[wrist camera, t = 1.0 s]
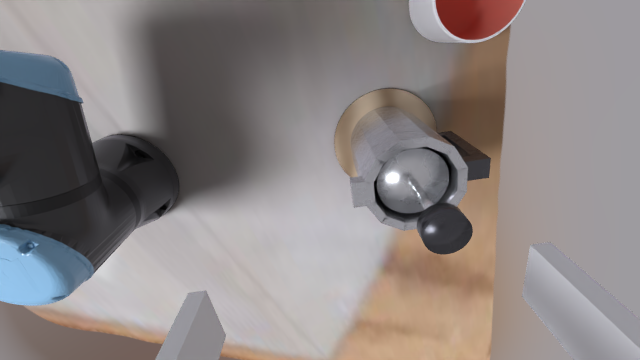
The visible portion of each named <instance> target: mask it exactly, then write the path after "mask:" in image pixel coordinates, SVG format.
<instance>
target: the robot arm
mask: <svg viewBox="0 0 640 360" xmlns="http://www.w3.org/2000/svg"><path fill="white" fill-rule="evenodd" d="M81 103H83V100H82V98H80V97H79V95H78V92H77V89H76V86H75V83H74V80H73V77H72V74H71V71H70V70H69V68H68V67H67V66H66V65H65V64H64V63H63V62H62V61H60V60H59V59H57V58H55V57H52V56H48V55H41V54H32V53H23V52H14V51H5V50H0V301H3V302H7V303H12V304H18V305H45V304H50V303H54V302H57V301H59V300H62V299H64V298H65V297H67V296H69V295H70V294H71V293H72V292H73V291H74V290H76V289H77V288H78V287H79V286H80V285H81V284H82V283H83V282H85V281H87V280H88V279H89V278H91V277H92V275H93V274H94V273H95V272H96V270H97V269H98V268H99V267H100V266H101V265H102V264H103V263H104V262H105V261H106V260H107V259H108V257H109V256H110V255H111V254H112V253H113V252H114V251H115V250H116V249H117V248H118V247H119V246H120V244H121V243H122V242H123V241H124V240H125V239H126V238H127V237H128V236H129V235H130V234H131V232H132V231H133V230H134V229H136V228H139V227H141V226H143V225H145V224H148V223H150V222H152V221H155V220H157V219H158V218H160V217H161V216H163V215H164V214H165V213H166V212H167V211H168V210H169V209H170V208H171V206H172V205H173V204H174V202H175V201H176V199H177V196H178V191H179V182H178V177H177V174H176V171H175V169H174V167H173V165H172V164H171V162H170V161H169V159H168V158H167V157H166V156H165V155H164V154H163V153H162V152H161V151H160V150H159V149H157V148H156V147H155V146H153V145H152V144H150V143H148V142H146V141H144V140H142V139H139V138H136V137H133V136H128V135H112V136H108V137H104V138H102V139H100V140H98V141H95V142H93V143H92V141H91V138H90V134H89V130H88V127H87V123H86V120H85V116H84V112H83V109H82V105H81ZM522 297H523V298H524V299H525V301H526V302H527V303H528V304H529V305H530V307H531V308H532V309H533V310H534V312H535V313H536V314H537V315H538V317H539V318H540V319H541V320H542V322H543V323H544V324H545V325H546V326H547V328H548V329H549V330H550V332H551V333H552V334H553V335H554V336H555V338H556V339H557V340H558V341H559V343H560V344H561V345H562V346H563V348H564V349H565V350H566V351H567V353H568V354H569V355H570V356H571V357H572V359H573V360H640V318H639V317H637V316H636V315H635V314H634V313H633V312H632V311H630V310H629V309H628V308H627V307H626V306H625V305H623V304H622V303H621V302H620V301H619V300H618V299H616V298H615V297H614V296H613V295H612V294H611V293H609V292H608V291H607V290H606V289H605V288H604V287H602V286H601V285H600V284H599V283H598V282H597V281H595V280H594V279H593V278H592V277H591V276H590V275H588V274H587V273H586V272H585V271H584V270H582V269H581V268H580V267H579V266H578V265H577V264H576V263H574V262H573V261H572V260H571V259H570V258H568V257H567V256H566V255H565V254H564V253H563V252H562V251H560V250H559V249H558V248H557V247H556V246H555V245H553V244H552V243H551V242H547V243H540V244H533V245H530V251H529V257H528V263H527V270H526V275H525V281H524V288H523V294H522ZM225 337H226V334H225V332H224V330H223V328H222V325H221V323H220V321H219V319H218V316H217V314H216V312H215V310H214V307H213V305H212V303H211V300H210V298H209V296H208V294H207V291H200V292H193V293H188V295H187V297H186V299H185V301H184V303H183V305H182V307H181V309H180V311H179V313H178V315H177V317H176V319H175V321H174V323H173V325H172V327H171V329H170V331H169V333H168V335H167V337H166V339H165V341H164V343H163V345H162V347H161V349H160V351H159V353H158V355H157V357H156V359H155V360H219V357H220V353H221V350H222V347H223V343H224V340H225Z"/></svg>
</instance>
